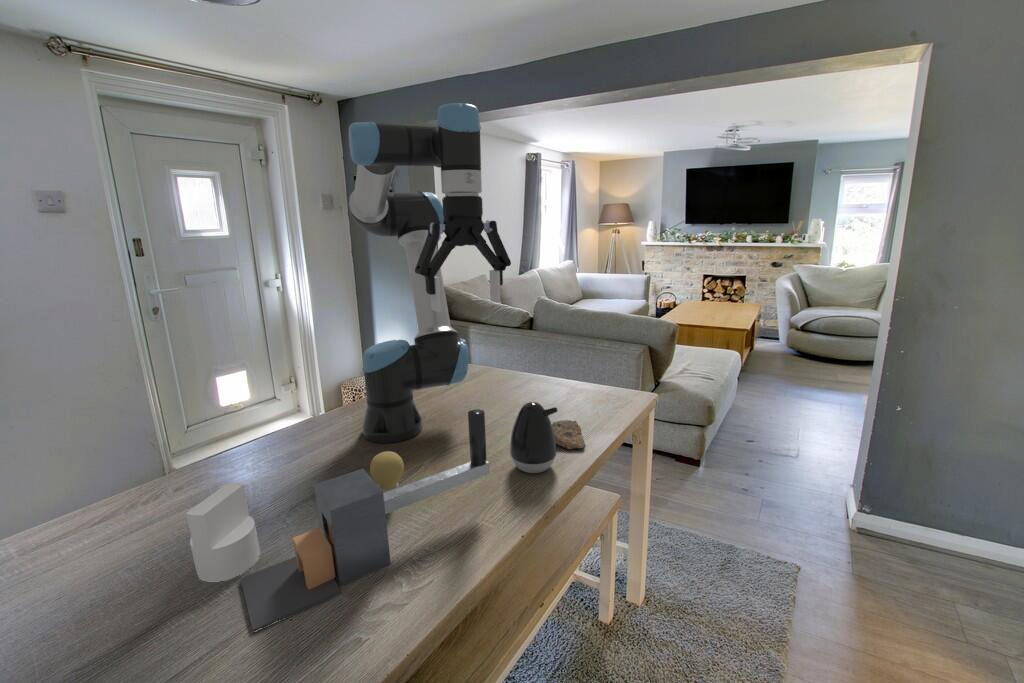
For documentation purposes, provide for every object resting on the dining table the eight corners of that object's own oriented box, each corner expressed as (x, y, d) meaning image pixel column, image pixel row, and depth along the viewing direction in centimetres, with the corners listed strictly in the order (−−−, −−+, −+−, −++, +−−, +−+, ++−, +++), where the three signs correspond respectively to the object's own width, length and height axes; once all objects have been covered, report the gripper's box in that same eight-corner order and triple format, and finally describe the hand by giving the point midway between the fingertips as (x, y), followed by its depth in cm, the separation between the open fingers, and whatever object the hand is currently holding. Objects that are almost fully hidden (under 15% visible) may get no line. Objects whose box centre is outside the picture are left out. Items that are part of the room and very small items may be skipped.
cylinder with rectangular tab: (233, 586, 73) (219, 517, 70) (183, 579, 75) (167, 512, 72) (272, 547, 82) (261, 484, 79) (225, 542, 83) (213, 480, 80)
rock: (543, 436, 121) (551, 447, 111) (548, 413, 121) (556, 422, 111) (576, 441, 122) (587, 453, 112) (581, 419, 122) (592, 428, 112)
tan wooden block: (297, 567, 76) (292, 537, 74) (323, 556, 78) (319, 527, 77) (308, 589, 71) (303, 558, 70) (335, 577, 74) (331, 546, 72)
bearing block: (324, 554, 80) (313, 484, 76) (371, 535, 84) (363, 468, 81) (340, 586, 73) (330, 510, 69) (390, 563, 77) (383, 491, 74)
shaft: (327, 526, 76) (316, 455, 73) (481, 468, 92) (478, 408, 89) (332, 535, 74) (322, 463, 70) (490, 474, 90) (487, 413, 87)
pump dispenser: (554, 481, 100) (554, 413, 96) (506, 477, 102) (503, 410, 98) (560, 457, 109) (559, 395, 105) (515, 454, 111) (513, 393, 107)
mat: (240, 581, 74) (240, 578, 74) (318, 550, 81) (318, 547, 80) (253, 633, 65) (252, 629, 64) (340, 593, 71) (339, 590, 71)
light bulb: (377, 512, 91) (372, 464, 88) (370, 495, 96) (365, 450, 94) (410, 502, 93) (406, 456, 91) (401, 487, 99) (397, 443, 96)
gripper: (408, 195, 80) (417, 318, 86) (527, 194, 94) (528, 300, 100) (391, 196, 86) (400, 311, 92) (505, 195, 100) (507, 295, 106)
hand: (467, 306), depth 96 cm, fingers open, 13 cm apart
